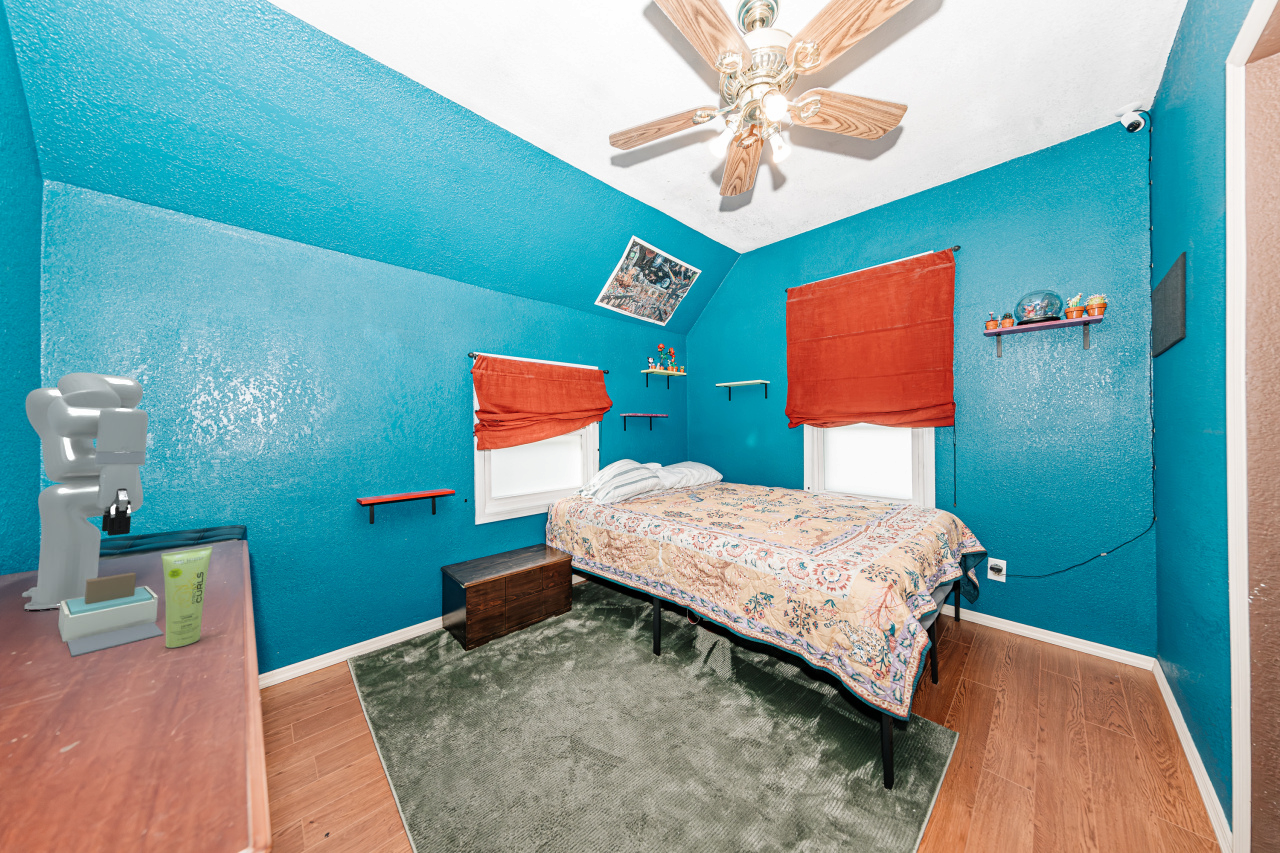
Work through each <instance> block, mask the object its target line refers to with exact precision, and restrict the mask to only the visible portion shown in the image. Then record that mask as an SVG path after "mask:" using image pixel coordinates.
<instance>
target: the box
mask: <svg viewBox="0 0 1280 853" xmlns="http://www.w3.org/2000/svg"><path fill="white" fill-rule="evenodd" d="M142 587H143V588H144V589H145V590H146V591H147V592H148V593H149V594H150V595H151V596H152V600H150V601H145V602H140V603H135V604H129V605H124V606H119V607H114V608H109V609H104V610H98V611H93V612H88V613H83V614H78V615H73V616H71V615H70V612H69V610H68V607H67V605H66V603H67V601H68V600H74V599H79V598H74V599H68V600H63V601H60V608H59V614H58V624H57V625H58V626H57V627H58V631H59V633H60V634H59V635H60V636H61V640H62V643H67V641H71V640H75V639H80V638H84V637H89V636H93V635H98V634H102V633H107V632H111V631H116V630H120V629H125V628H129V627H134V626H138V625H143V624H147V623H152V622H154V623H156V622H157V617H158V616H157V615H158V603H159V601H158V600H159V596H158V595H157V594H156V593H155V592H154V591H153V590H152V589H151V588H150V587H149V586H147V585H142V586H138V587H135V589H137V588H142ZM80 598H85V597H80Z"/></svg>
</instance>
